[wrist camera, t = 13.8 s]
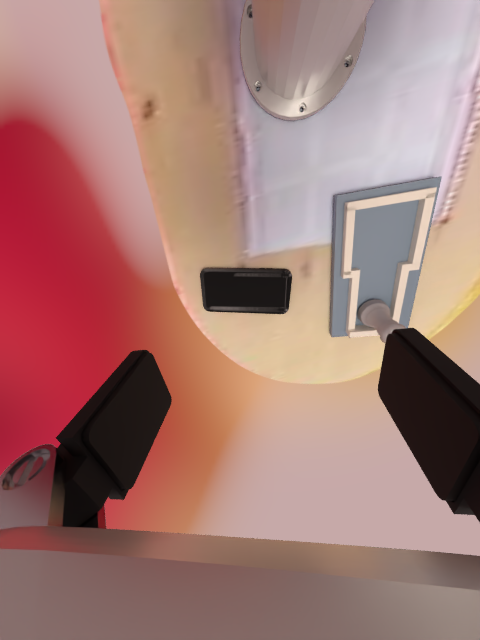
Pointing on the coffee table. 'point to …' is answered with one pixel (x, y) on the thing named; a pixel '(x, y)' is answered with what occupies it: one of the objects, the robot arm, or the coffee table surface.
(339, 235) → the keyhole board
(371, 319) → the rook chess piece
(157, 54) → the coffee table surface
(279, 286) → the phone
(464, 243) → the coffee table surface
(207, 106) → the coffee table surface
